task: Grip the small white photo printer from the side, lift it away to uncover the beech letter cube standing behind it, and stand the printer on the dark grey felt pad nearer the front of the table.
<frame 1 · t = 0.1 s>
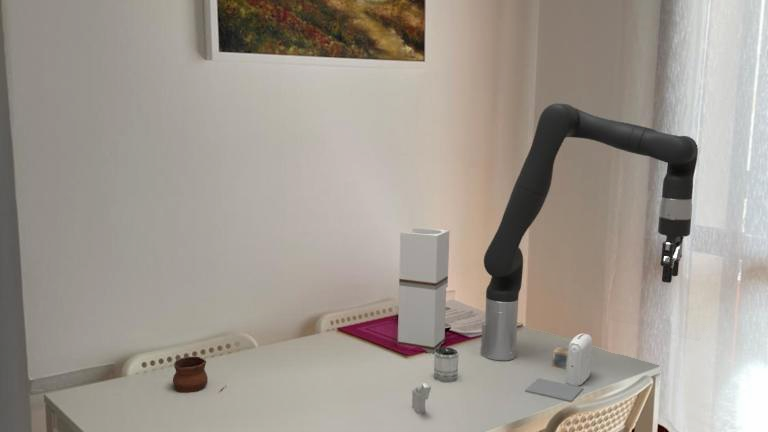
hand: (669, 278, 185), 29 cm above the table, tool pointing down, fingers open, 8 cm apart
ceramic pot: (190, 388, 184), on the table
camera lens: (445, 378, 193), on the table
lighter: (420, 412, 171), on the table
felt pad: (554, 390, 186), on the table
display case: (421, 346, 219), on the table
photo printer: (578, 380, 194), on the table
letter cube: (562, 365, 205), on the table
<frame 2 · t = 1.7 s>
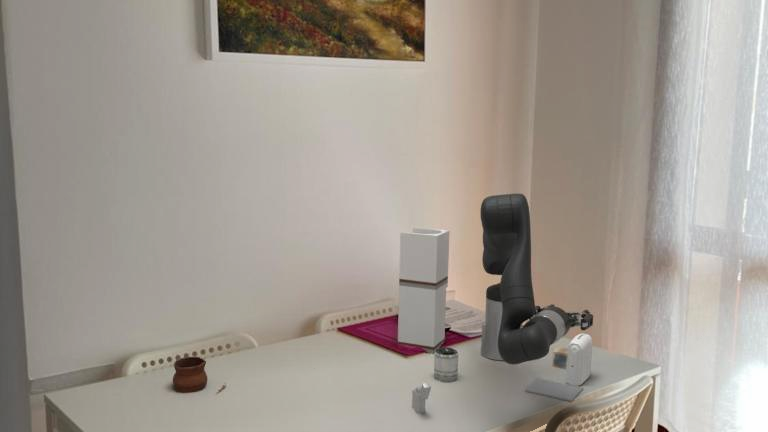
hand: (569, 311, 181), 22 cm above the table, tool horizontal, fingers open, 8 cm apart
nothing on the table moved.
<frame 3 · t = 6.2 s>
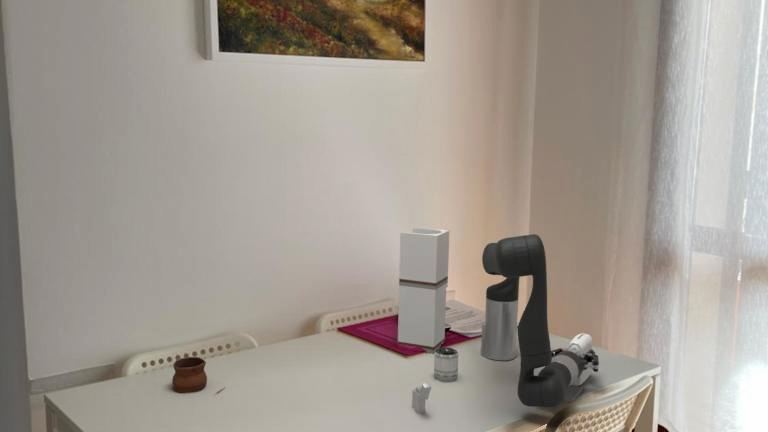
hand: (582, 351, 195), 7 cm above the table, tool horizontal, fingers closed on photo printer, 4 cm apart
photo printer: (578, 380, 194), on the table, touching gripper
everything else where it was.
when the fingers open (8 cm above the table, at t = 11.0 s): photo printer stays where it is, resting on felt pad.
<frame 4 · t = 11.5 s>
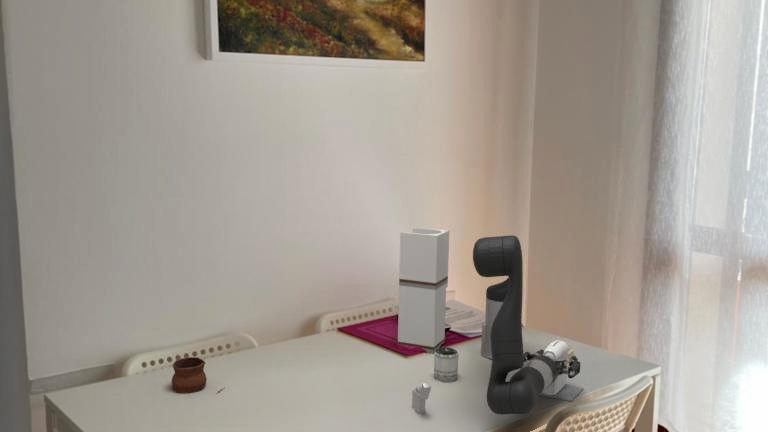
hand: (558, 356, 186), 8 cm above the table, tool horizontal, fingers open, 8 cm apart
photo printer: (553, 389, 186), resting on felt pad
everything else where it was.
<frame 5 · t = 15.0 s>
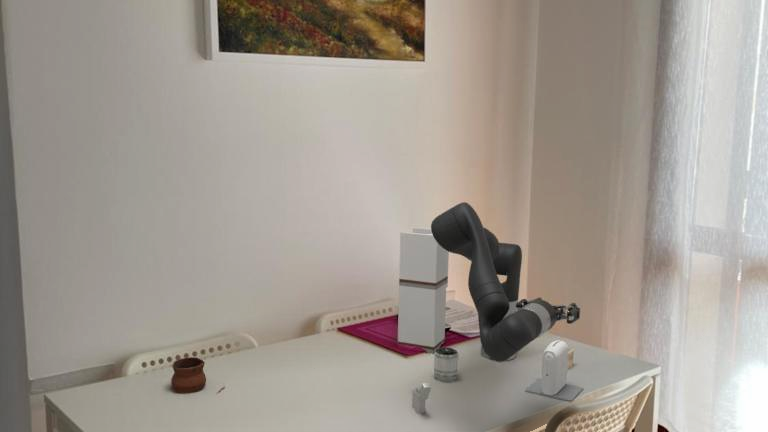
hand: (556, 304, 178), 24 cm above the table, tool horizontal, fingers open, 8 cm apart
nothing on the table moved.
at the end: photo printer inside the target area on the felt pad (0.1 cm from its centre), point 0.2 cm above the felt pad's base; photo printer tilted 0°; the gripper is holding nothing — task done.
